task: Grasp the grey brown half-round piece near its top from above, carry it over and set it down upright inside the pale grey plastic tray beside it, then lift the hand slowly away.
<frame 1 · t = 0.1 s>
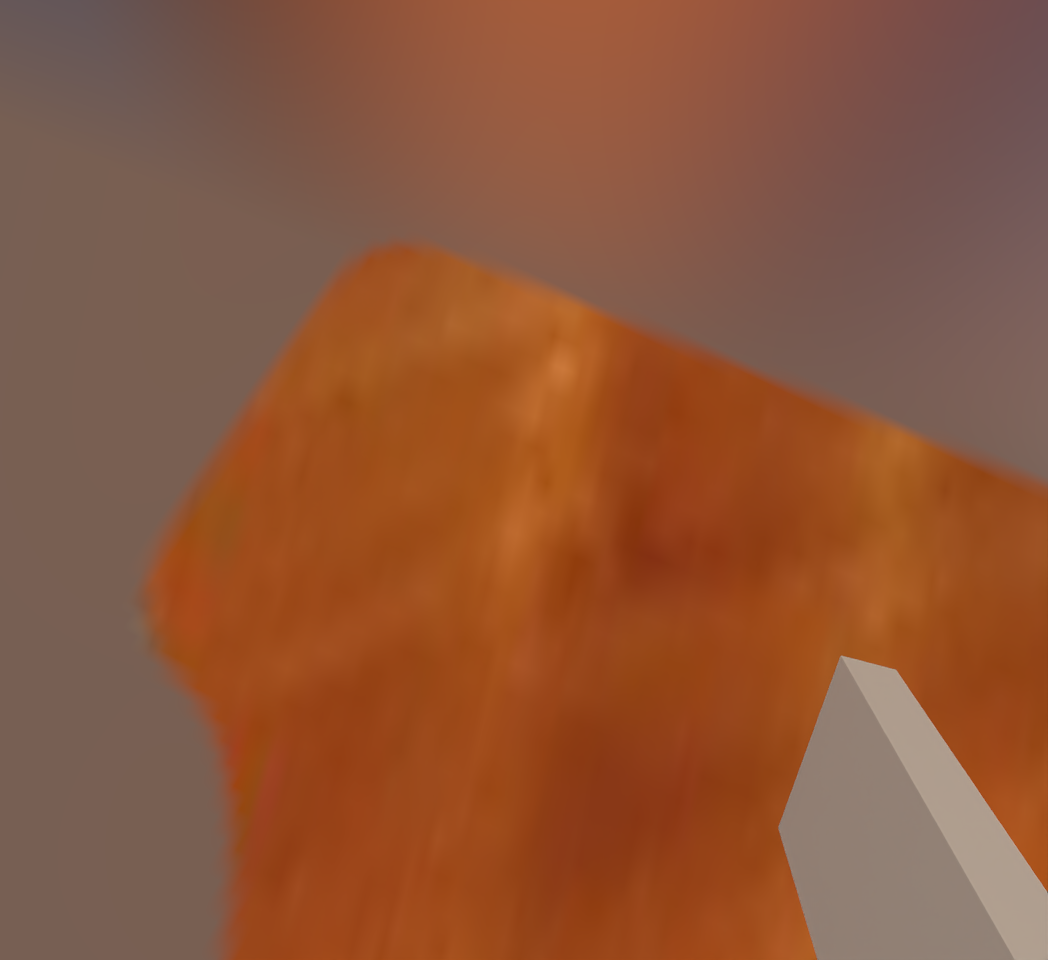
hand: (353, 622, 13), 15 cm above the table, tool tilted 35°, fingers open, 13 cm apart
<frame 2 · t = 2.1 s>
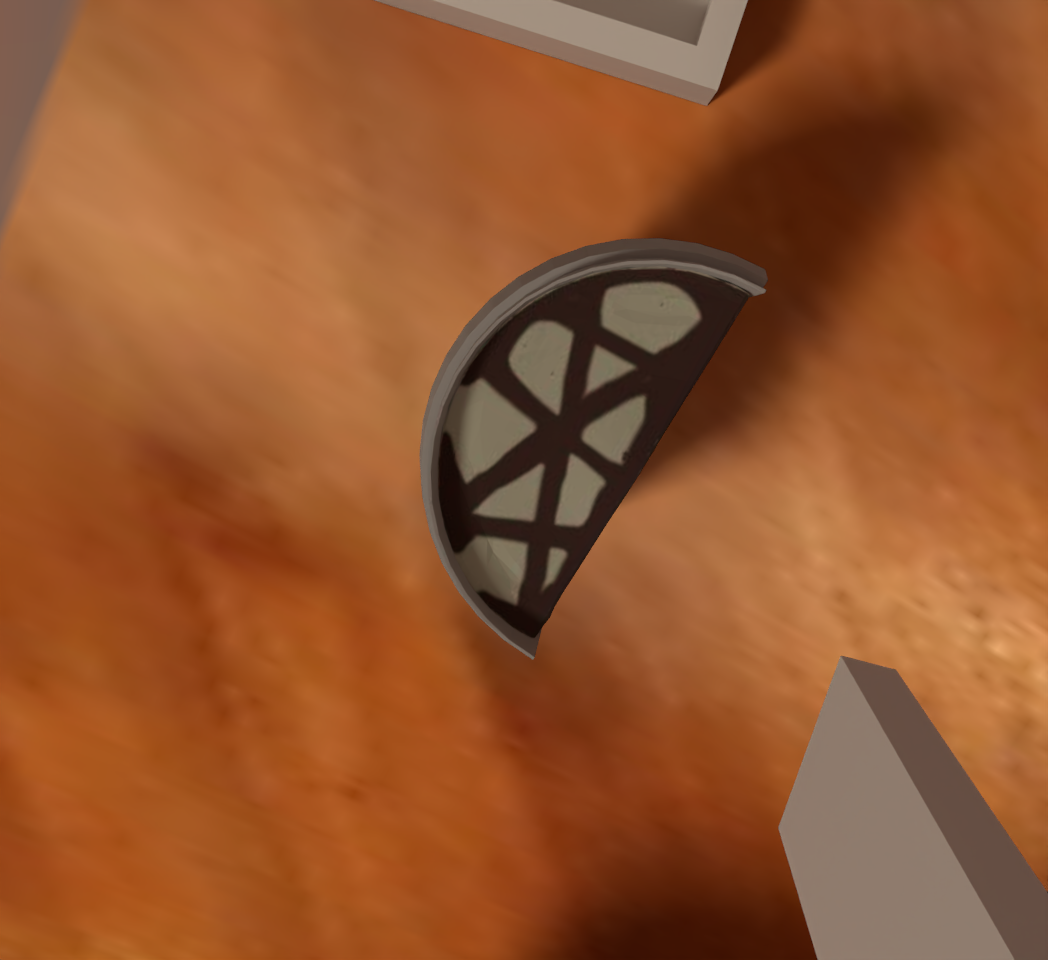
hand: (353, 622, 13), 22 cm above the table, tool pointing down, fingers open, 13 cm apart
grey brown half-round piece: (557, 375, 34), on the table
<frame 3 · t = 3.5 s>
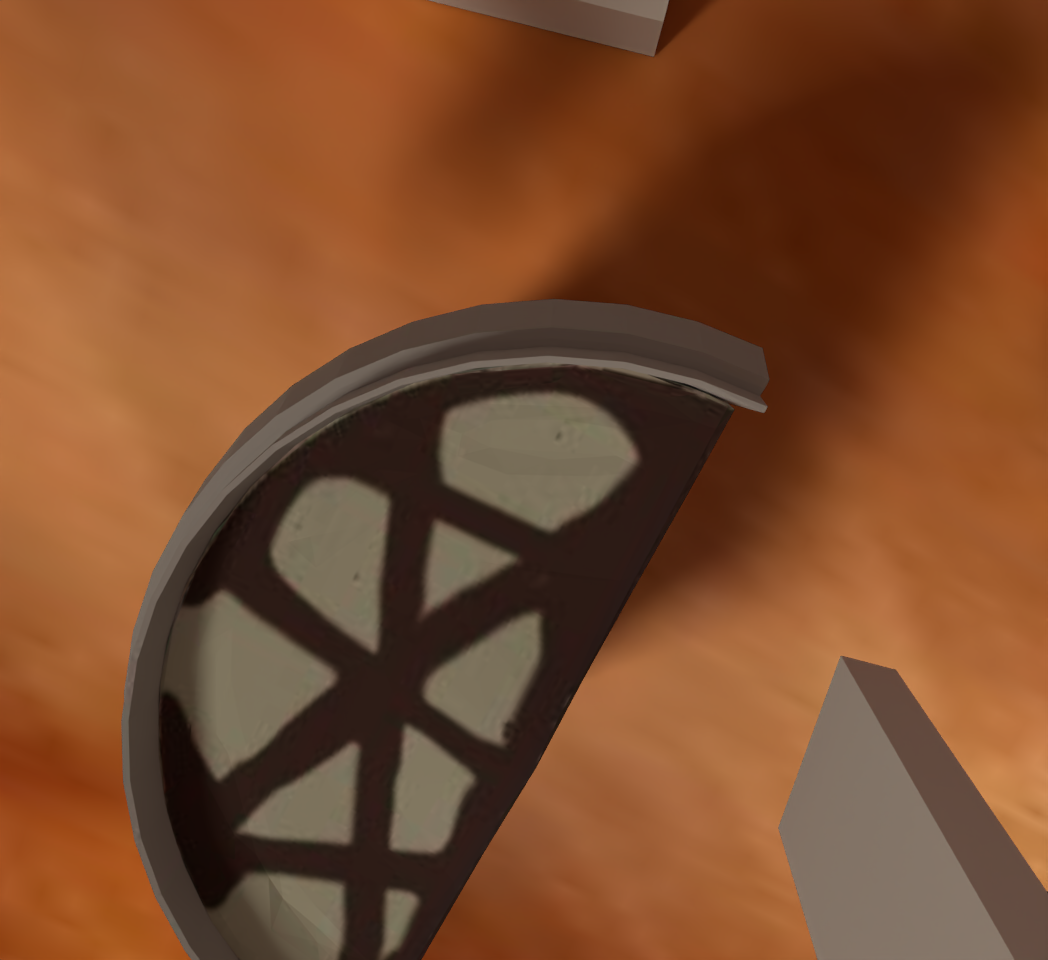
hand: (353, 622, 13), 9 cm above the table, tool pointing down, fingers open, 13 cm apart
grey brown half-round piece: (450, 493, 22), on the table
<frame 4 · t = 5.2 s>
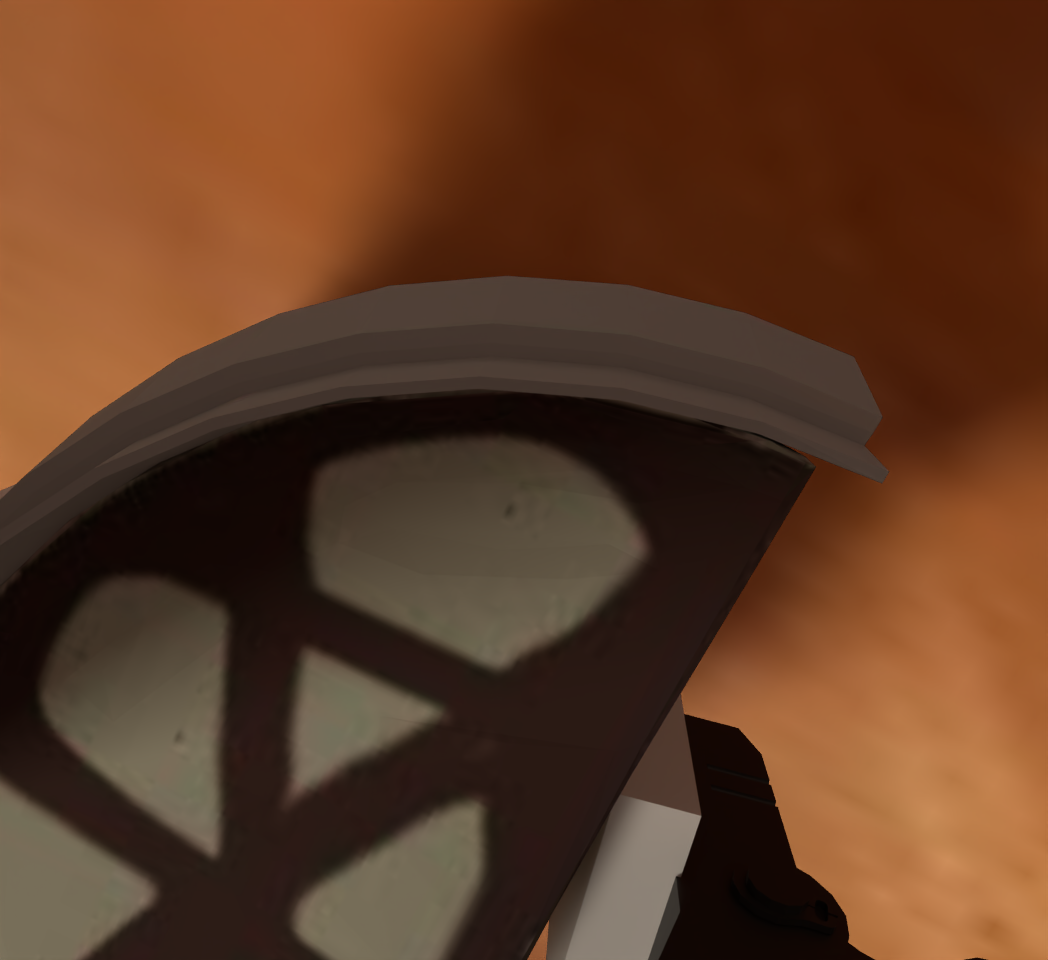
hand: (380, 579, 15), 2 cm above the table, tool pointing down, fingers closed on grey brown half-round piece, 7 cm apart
grey brown half-round piece: (402, 537, 17), on the table, touching gripper
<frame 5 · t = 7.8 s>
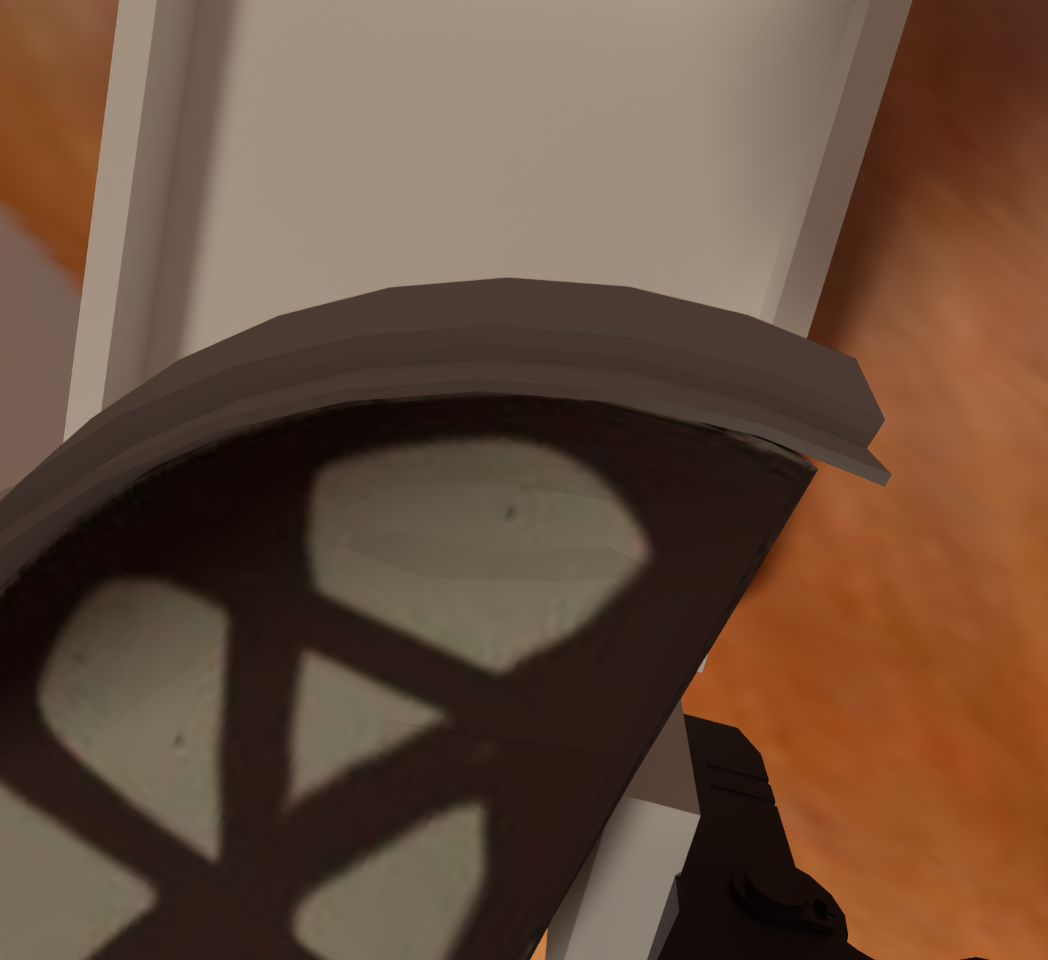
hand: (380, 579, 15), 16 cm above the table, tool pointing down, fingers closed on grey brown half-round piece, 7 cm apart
grey brown half-round piece: (402, 538, 17), point 14 cm above the table, touching gripper
tray: (464, 254, 29), on the table
when the fingers open (3 cm above the table, at t = 10.4 s): grey brown half-round piece stays where it is, resting on tray.
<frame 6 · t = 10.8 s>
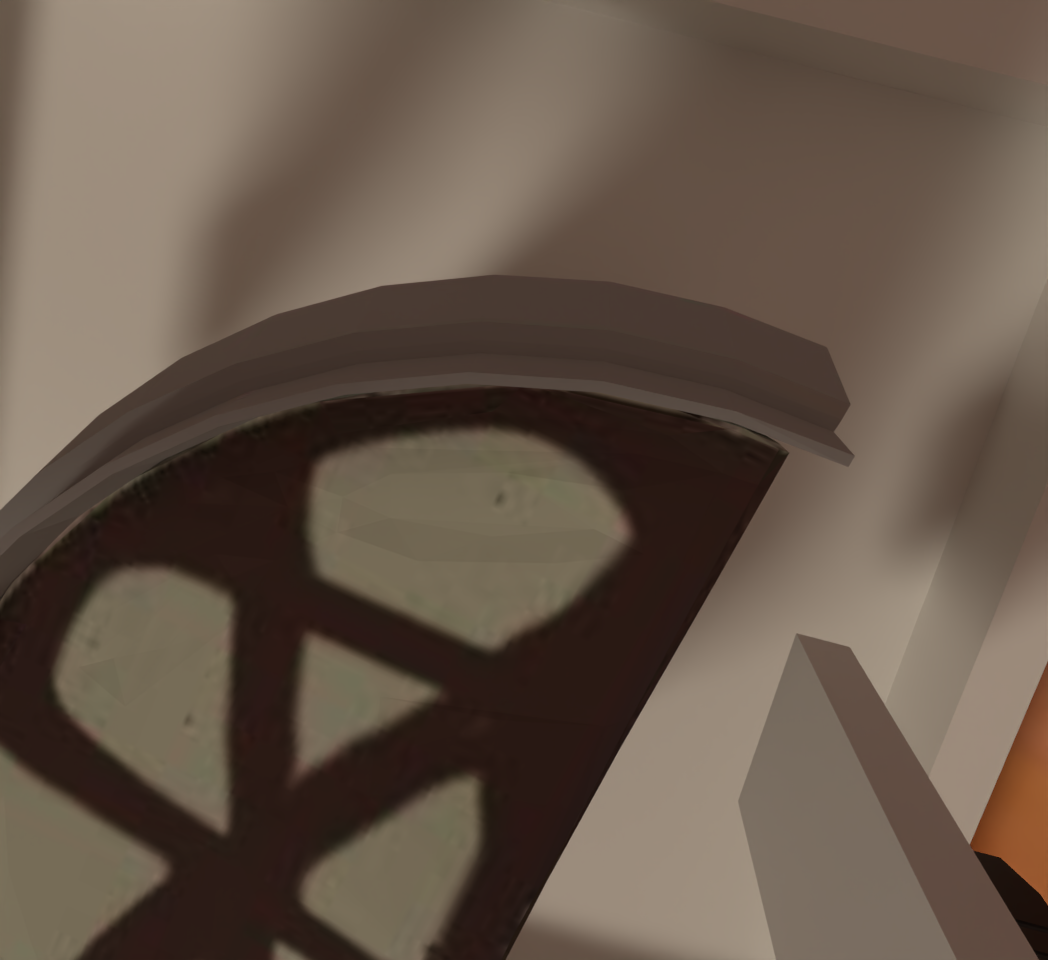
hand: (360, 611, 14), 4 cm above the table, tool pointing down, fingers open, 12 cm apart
grey brown half-round piece: (399, 528, 17), resting on tray
tray: (416, 524, 18), on the table
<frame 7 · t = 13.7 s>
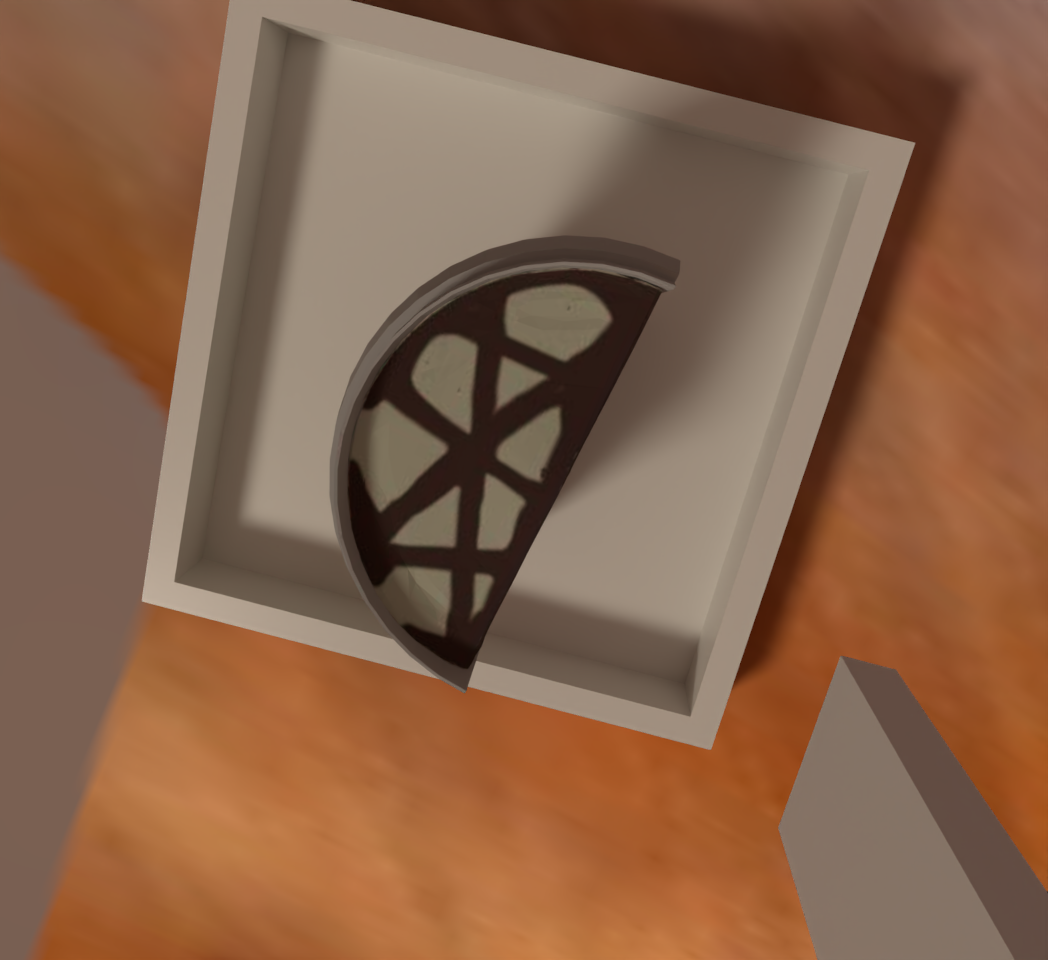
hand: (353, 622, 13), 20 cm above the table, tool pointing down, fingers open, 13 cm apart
grey brown half-round piece: (493, 379, 33), resting on tray
tray: (502, 378, 33), on the table
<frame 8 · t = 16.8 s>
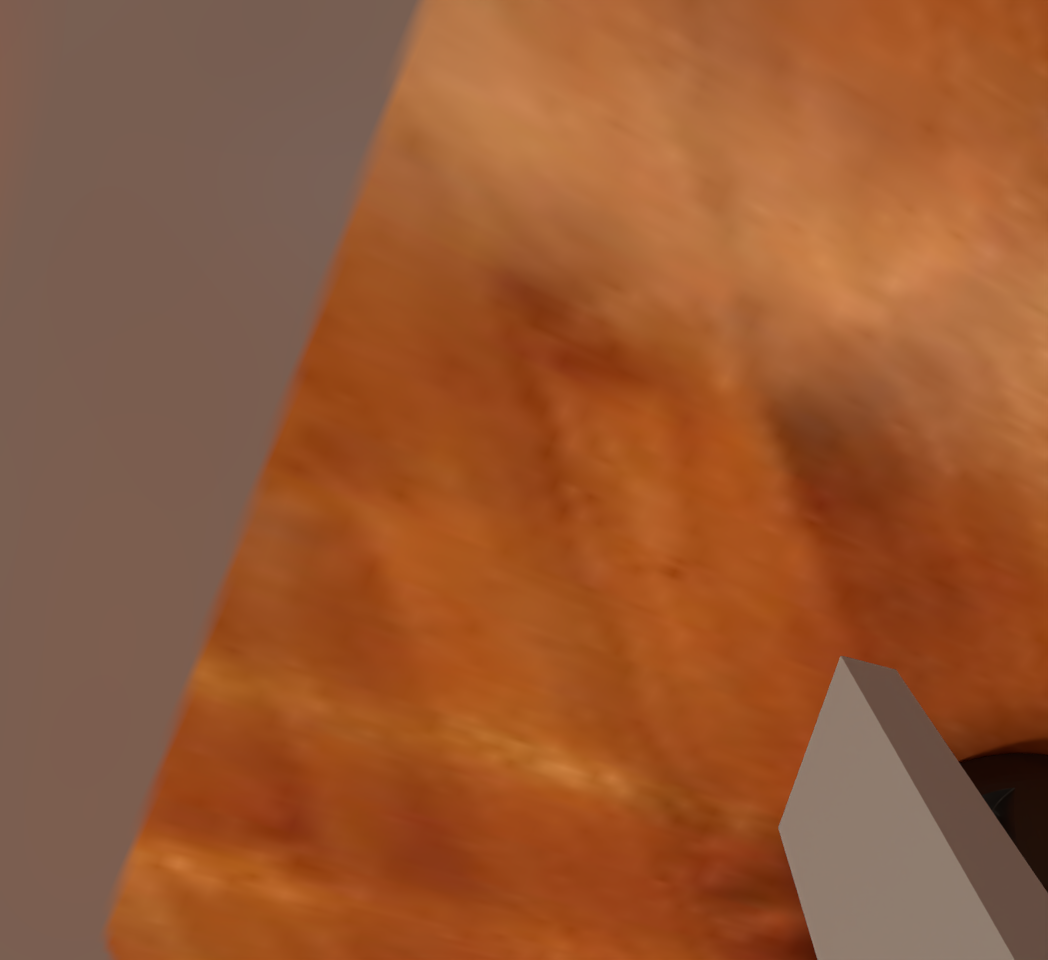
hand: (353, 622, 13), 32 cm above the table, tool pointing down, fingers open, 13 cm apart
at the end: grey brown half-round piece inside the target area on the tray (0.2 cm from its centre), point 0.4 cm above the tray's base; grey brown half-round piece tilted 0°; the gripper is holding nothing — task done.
